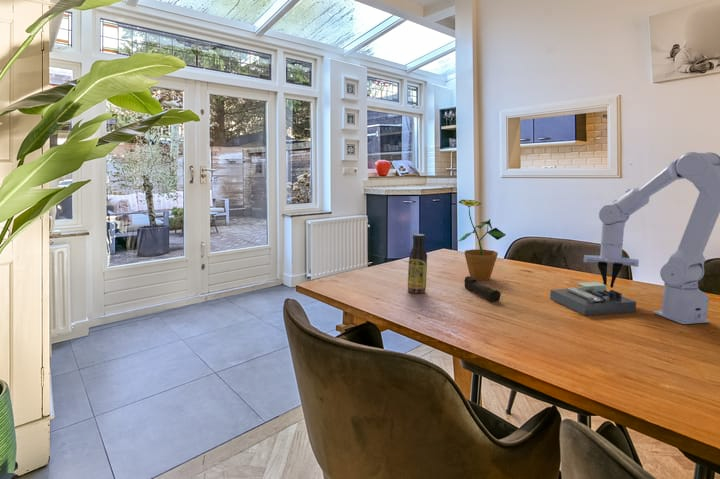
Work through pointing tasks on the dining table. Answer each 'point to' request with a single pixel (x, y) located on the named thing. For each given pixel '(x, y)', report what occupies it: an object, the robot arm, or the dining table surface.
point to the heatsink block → (589, 307)
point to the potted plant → (480, 259)
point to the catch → (593, 286)
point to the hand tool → (482, 289)
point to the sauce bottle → (417, 265)
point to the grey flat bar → (584, 294)
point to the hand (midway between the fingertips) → (608, 286)
